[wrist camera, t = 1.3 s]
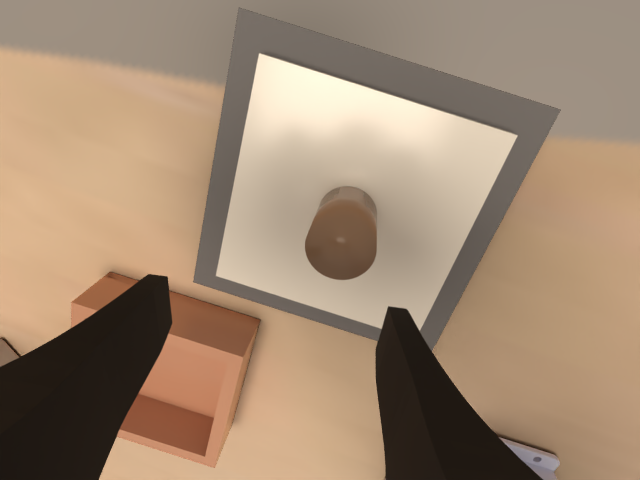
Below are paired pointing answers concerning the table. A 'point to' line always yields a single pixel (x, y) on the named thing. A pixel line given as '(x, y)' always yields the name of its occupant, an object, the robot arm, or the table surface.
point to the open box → (184, 374)
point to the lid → (353, 194)
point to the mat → (388, 77)
